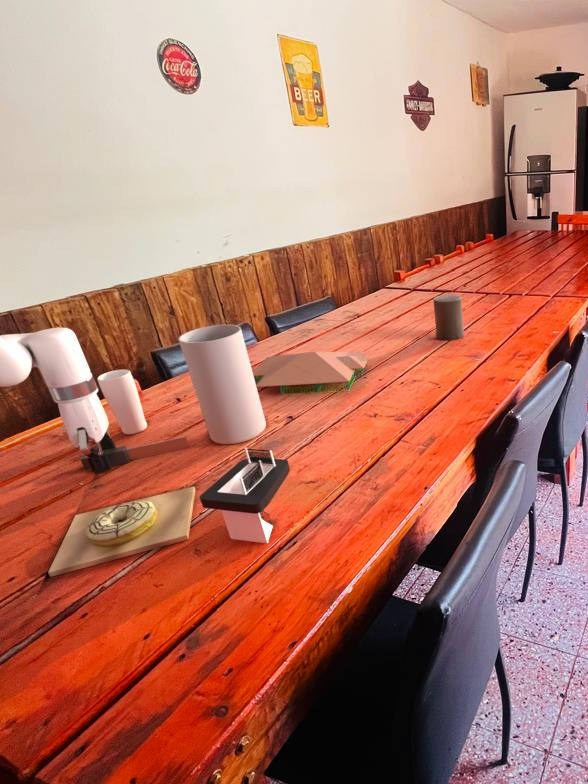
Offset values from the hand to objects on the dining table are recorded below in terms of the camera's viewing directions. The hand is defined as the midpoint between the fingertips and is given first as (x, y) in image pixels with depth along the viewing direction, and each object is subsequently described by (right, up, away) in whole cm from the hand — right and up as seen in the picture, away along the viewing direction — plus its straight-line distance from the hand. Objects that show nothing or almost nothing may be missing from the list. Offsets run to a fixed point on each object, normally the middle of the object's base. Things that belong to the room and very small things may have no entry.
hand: (106, 462), depth 112 cm
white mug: (-3, +6, +15) cm, 16 cm away
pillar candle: (+72, +36, +68) cm, 105 cm away
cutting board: (+19, -10, -20) cm, 29 cm away
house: (+32, +20, +39) cm, 55 cm away
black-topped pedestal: (+43, -9, -20) cm, 49 cm away
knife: (+5, 0, +2) cm, 5 cm away
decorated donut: (+19, -10, -21) cm, 30 cm away
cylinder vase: (+24, +6, +11) cm, 27 cm away
